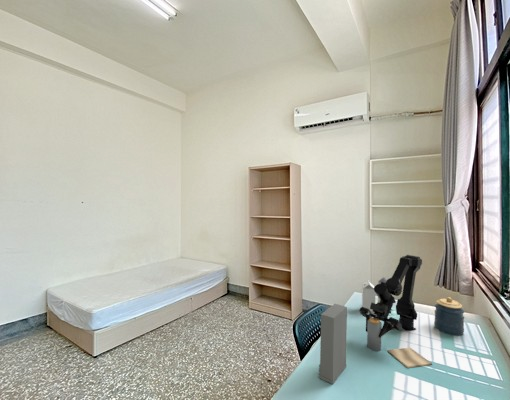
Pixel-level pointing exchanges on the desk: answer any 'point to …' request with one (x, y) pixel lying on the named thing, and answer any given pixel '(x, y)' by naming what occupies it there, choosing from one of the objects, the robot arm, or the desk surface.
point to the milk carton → (368, 295)
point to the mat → (409, 357)
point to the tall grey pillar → (333, 343)
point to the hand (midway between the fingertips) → (372, 334)
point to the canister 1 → (374, 334)
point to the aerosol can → (380, 283)
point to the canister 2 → (449, 316)
